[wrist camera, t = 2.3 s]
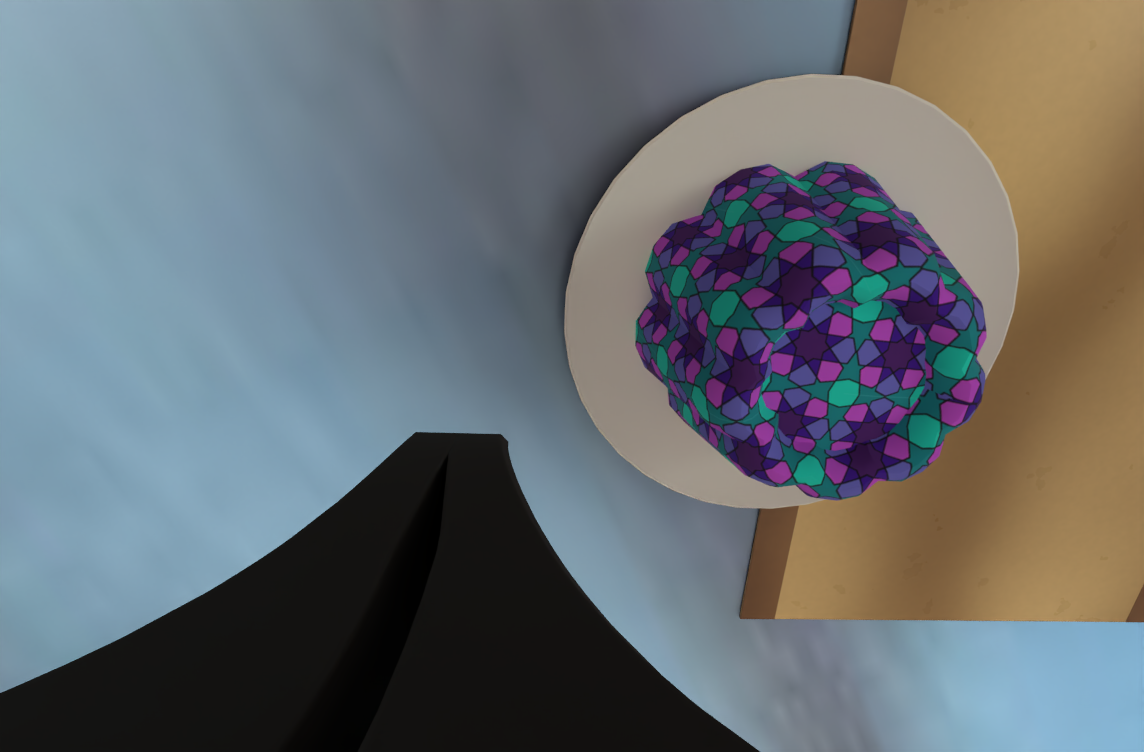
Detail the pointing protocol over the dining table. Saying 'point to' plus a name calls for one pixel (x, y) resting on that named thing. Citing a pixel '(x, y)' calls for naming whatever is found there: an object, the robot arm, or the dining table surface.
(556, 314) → the dining table surface
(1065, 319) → the placemat
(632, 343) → the pudding
